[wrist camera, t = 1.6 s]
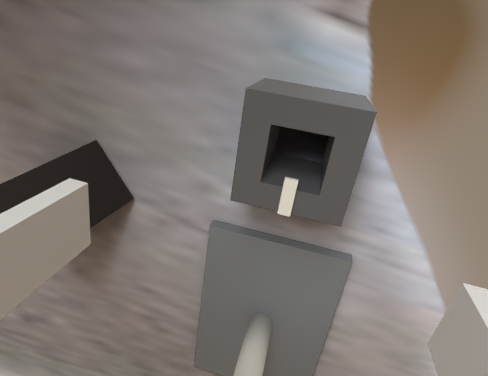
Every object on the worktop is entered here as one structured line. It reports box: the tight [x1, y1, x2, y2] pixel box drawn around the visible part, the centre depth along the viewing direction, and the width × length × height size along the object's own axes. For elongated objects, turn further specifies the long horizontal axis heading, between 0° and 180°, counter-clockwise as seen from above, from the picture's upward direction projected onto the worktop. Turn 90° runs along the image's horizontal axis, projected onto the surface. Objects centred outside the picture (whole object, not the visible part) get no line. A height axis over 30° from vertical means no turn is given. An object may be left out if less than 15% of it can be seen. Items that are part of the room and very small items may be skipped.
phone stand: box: [0, 141, 133, 228], centre depth 26 cm, size 9×6×12 cm, turn 118°
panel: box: [194, 220, 352, 376], centre depth 29 cm, size 18×12×8 cm, turn 171°
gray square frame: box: [231, 78, 376, 227], centre depth 22 cm, size 7×7×6 cm
